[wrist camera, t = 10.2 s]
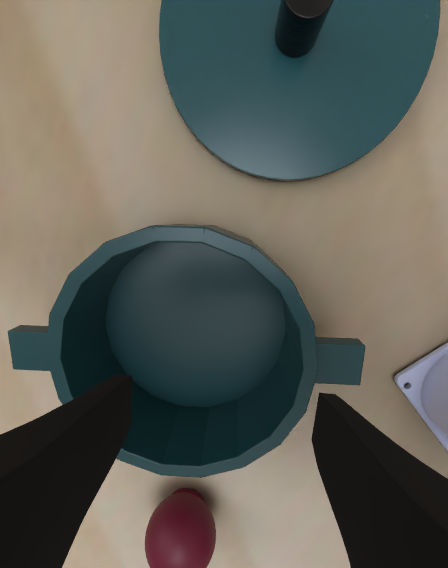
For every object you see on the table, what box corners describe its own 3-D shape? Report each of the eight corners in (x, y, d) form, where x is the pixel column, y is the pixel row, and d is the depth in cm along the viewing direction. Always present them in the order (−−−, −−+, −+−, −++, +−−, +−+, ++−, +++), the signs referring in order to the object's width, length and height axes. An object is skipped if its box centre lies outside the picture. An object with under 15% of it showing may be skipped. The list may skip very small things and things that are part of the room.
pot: (322, 417, 22) (352, 487, 17) (72, 405, 23) (17, 466, 17) (343, 228, 19) (389, 231, 13) (54, 221, 20) (-21, 220, 14)
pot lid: (404, 184, 19) (455, 173, 14) (166, 180, 19) (145, 168, 15) (451, -125, 15) (534, -260, 11) (160, -117, 16) (132, -243, 12)
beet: (230, 508, 25) (228, 611, 18) (183, 536, 26) (165, 644, 19) (190, 465, 24) (173, 556, 17) (143, 496, 25) (110, 594, 18)
